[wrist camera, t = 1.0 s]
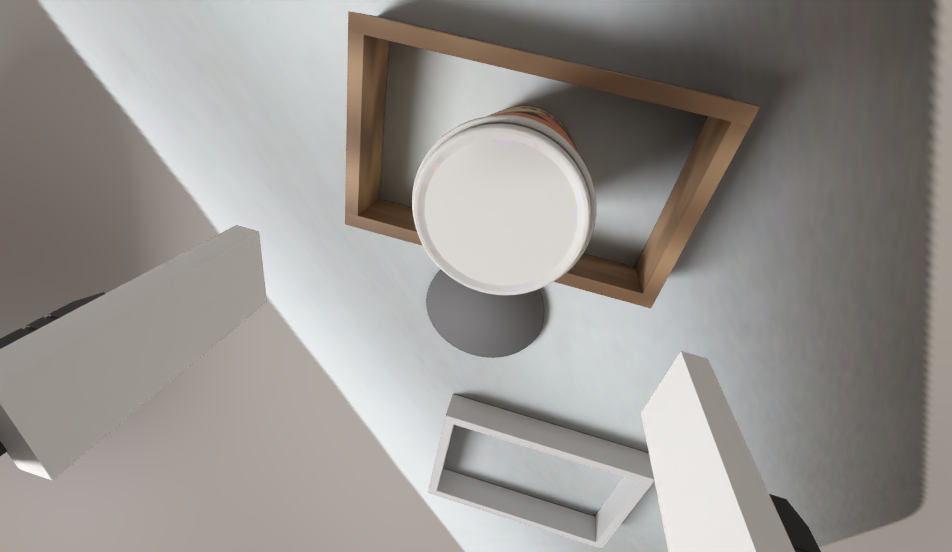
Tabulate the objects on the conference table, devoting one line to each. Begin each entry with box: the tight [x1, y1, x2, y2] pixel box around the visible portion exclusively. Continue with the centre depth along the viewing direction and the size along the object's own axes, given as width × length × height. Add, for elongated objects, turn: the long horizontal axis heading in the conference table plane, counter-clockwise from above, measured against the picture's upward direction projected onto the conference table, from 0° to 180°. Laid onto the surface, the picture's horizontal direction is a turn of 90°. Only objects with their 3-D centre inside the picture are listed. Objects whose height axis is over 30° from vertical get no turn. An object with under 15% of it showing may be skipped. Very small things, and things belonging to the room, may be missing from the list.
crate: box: [345, 12, 760, 308], centre depth 28 cm, size 14×24×4 cm, turn 79°
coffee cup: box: [412, 106, 596, 295], centre depth 24 cm, size 9×9×12 cm
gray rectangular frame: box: [428, 394, 654, 549], centre depth 45 cm, size 15×22×3 cm
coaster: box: [426, 270, 544, 358], centre depth 36 cm, size 11×11×1 cm
